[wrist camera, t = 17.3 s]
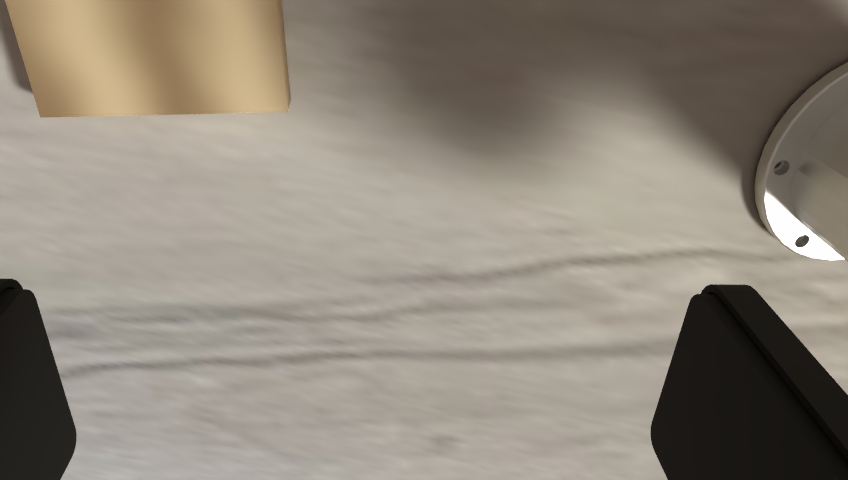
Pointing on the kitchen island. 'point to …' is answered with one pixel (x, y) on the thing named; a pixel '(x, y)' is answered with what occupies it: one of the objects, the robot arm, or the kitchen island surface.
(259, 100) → the board
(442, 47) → the kitchen island surface
